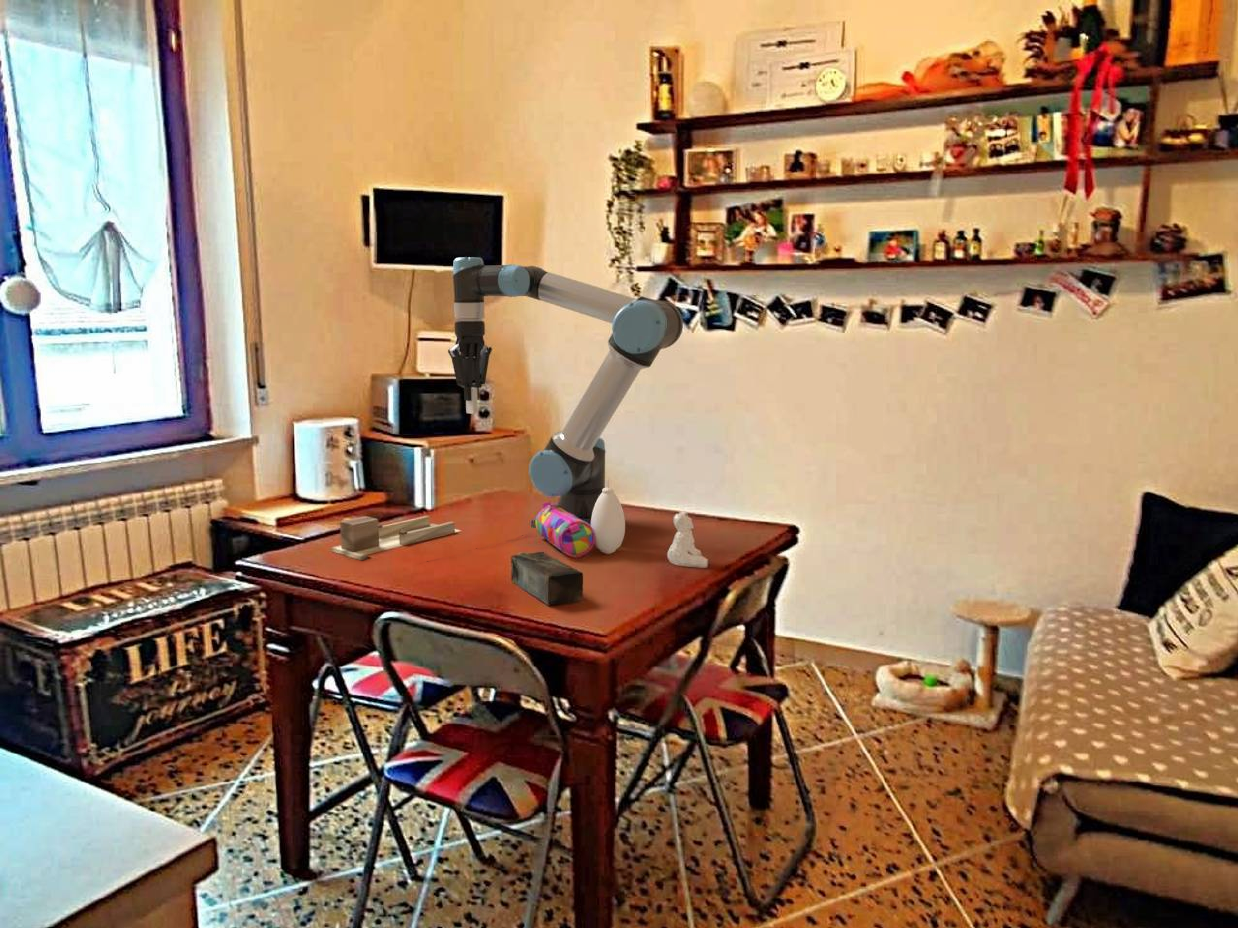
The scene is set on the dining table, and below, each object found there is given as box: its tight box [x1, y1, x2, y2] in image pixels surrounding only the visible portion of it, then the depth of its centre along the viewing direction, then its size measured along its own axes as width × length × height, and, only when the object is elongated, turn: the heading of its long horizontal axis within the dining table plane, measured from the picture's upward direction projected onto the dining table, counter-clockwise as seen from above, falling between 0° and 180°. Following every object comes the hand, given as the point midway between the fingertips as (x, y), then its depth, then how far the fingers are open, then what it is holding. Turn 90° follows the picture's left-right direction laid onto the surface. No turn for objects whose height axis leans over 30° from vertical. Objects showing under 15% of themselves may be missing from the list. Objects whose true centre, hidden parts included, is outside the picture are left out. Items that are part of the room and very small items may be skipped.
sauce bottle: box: [591, 477, 626, 555], centre depth 220 cm, size 8×8×18 cm
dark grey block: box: [510, 551, 584, 607], centre depth 193 cm, size 8×19×7 cm, turn 29°
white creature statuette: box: [666, 510, 709, 569], centre depth 212 cm, size 10×9×12 cm
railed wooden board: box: [331, 515, 462, 561], centre depth 230 cm, size 12×30×4 cm, turn 140°
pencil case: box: [530, 501, 595, 558], centre depth 226 cm, size 22×9×9 cm, turn 24°
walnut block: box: [339, 515, 379, 552], centre depth 222 cm, size 5×7×6 cm
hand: (472, 413), depth 243 cm, fingers closed
